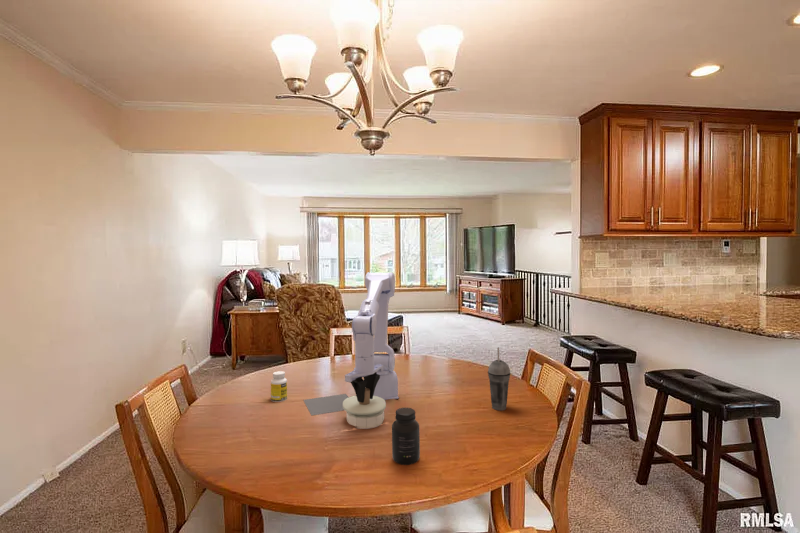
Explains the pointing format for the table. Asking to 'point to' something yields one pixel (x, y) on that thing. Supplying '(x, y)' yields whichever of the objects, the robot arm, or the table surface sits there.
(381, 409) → the lid
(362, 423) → the bowl
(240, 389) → the table surface
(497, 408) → the beverage cup
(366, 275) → the robot arm
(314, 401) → the mat
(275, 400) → the supplement bottle
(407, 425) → the supplement bottle
